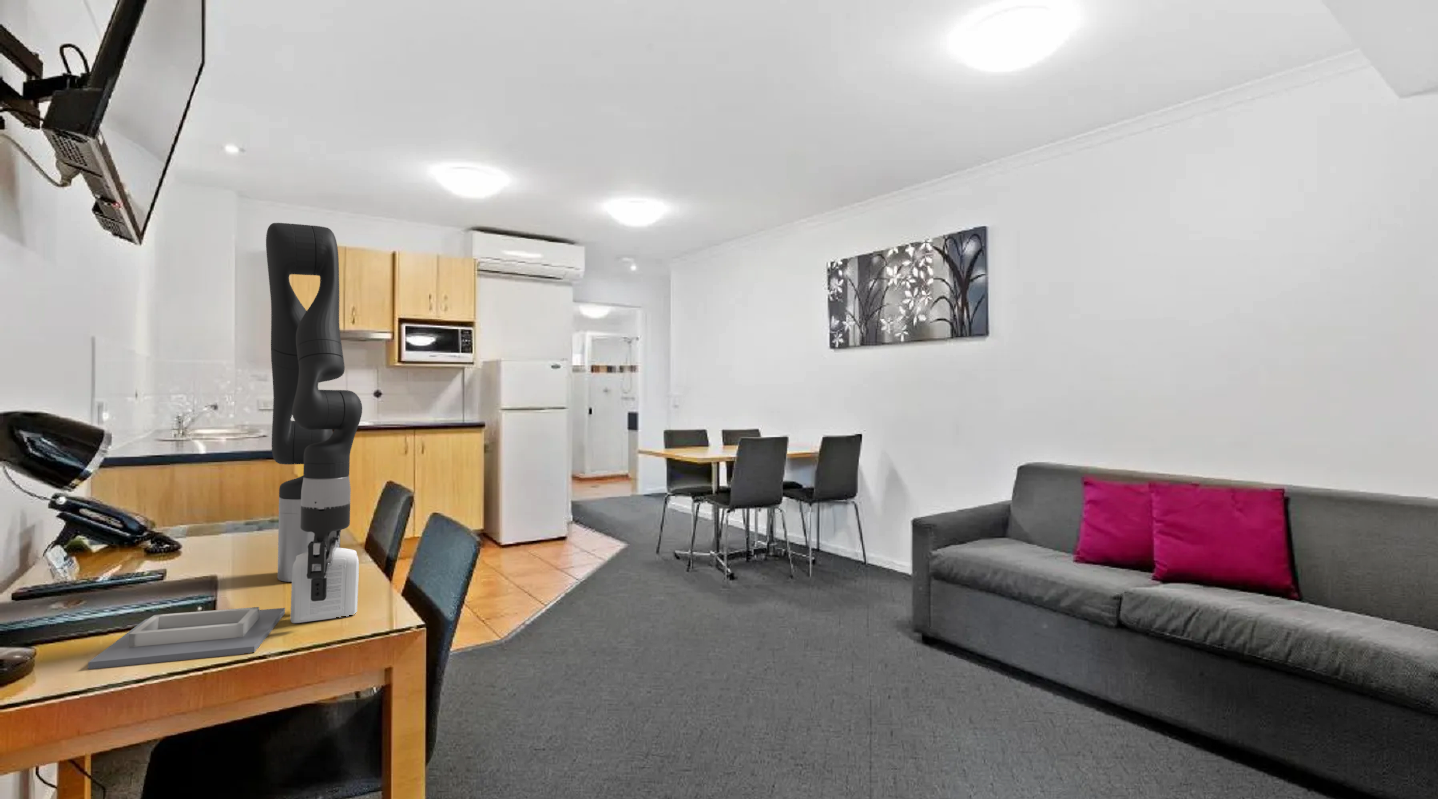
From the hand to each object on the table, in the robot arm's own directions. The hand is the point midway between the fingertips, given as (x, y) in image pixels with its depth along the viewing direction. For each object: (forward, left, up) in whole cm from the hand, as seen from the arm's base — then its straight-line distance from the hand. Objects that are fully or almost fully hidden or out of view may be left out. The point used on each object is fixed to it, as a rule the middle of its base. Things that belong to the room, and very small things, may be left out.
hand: (323, 592), depth 115 cm
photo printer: (0, 0, -5) cm, 5 cm away
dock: (+5, -17, -5) cm, 18 cm away
